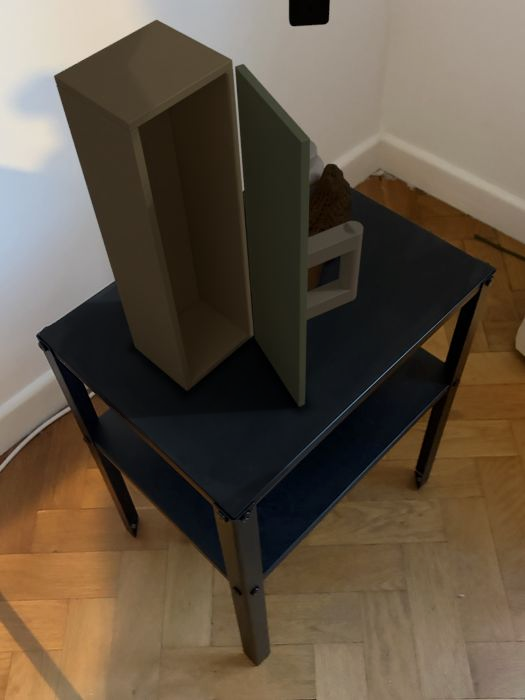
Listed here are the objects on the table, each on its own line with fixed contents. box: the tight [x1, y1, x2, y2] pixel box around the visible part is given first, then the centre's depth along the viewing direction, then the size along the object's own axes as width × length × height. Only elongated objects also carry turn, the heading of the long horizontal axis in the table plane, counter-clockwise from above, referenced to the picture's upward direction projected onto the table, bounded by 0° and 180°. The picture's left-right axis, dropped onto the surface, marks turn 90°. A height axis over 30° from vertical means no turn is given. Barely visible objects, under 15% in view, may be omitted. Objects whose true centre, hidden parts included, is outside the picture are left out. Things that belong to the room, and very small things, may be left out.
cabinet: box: [53, 19, 255, 392], centre depth 63 cm, size 8×9×31 cm
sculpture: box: [249, 163, 353, 301], centre depth 76 cm, size 8×10×15 cm
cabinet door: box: [234, 63, 364, 408], centre depth 61 cm, size 6×9×31 cm
